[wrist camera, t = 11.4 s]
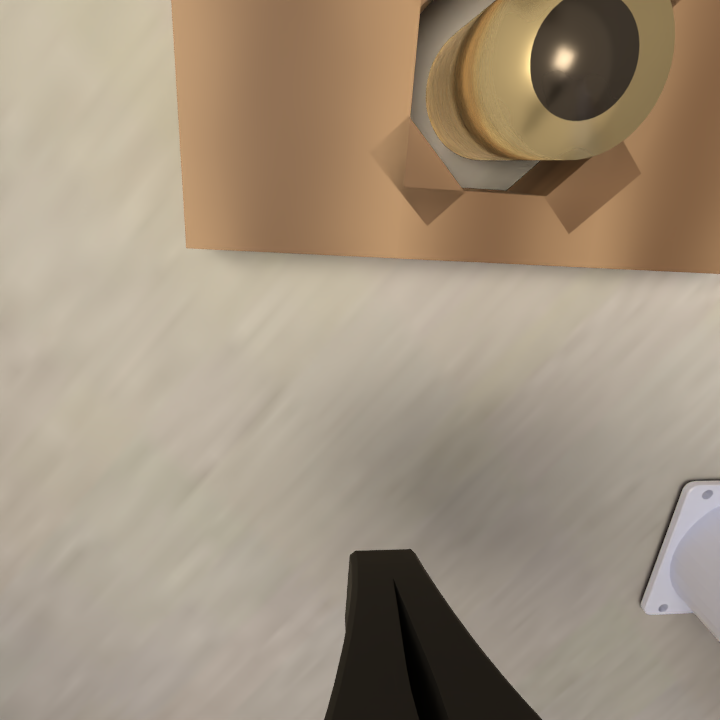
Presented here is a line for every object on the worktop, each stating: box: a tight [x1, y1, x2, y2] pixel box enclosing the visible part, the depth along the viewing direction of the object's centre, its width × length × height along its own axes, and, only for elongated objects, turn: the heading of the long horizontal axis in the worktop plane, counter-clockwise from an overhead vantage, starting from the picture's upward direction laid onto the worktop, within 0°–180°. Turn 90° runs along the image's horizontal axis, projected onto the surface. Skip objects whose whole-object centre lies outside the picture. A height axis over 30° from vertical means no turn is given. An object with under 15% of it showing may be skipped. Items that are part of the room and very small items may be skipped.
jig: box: [171, 0, 720, 274], centre depth 14 cm, size 18×14×3 cm
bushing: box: [426, 0, 675, 160], centre depth 13 cm, size 4×4×6 cm
